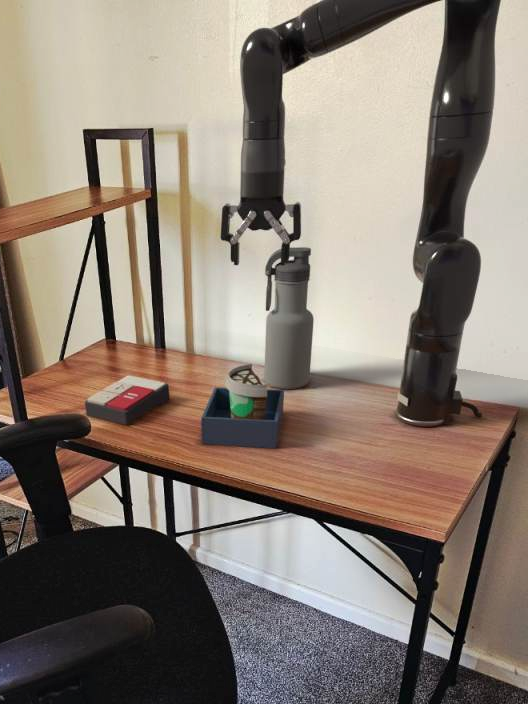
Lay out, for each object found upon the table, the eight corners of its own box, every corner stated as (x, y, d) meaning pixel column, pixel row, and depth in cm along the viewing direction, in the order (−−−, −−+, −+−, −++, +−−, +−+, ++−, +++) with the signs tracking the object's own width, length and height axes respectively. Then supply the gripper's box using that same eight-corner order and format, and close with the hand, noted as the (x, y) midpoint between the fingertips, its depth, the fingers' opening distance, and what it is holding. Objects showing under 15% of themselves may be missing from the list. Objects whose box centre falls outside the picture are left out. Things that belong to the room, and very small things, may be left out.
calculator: (83, 398, 144) (127, 372, 154) (85, 417, 146) (129, 390, 156) (125, 408, 138) (169, 380, 148) (127, 428, 141) (170, 399, 150)
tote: (282, 415, 141) (284, 389, 138) (276, 448, 128) (277, 421, 125) (214, 411, 144) (214, 387, 141) (201, 444, 131) (201, 417, 129)
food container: (219, 414, 141) (219, 365, 136) (249, 411, 141) (251, 363, 136) (232, 440, 130) (233, 389, 125) (265, 437, 131) (267, 385, 125)
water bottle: (259, 389, 153) (264, 254, 138) (264, 373, 161) (268, 244, 146) (308, 391, 150) (317, 254, 136) (310, 375, 158) (319, 244, 144)
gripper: (218, 171, 121) (218, 269, 129) (303, 168, 118) (297, 269, 126) (224, 166, 127) (224, 260, 135) (305, 163, 124) (300, 260, 132)
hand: (259, 264), depth 131 cm, fingers open, 8 cm apart
